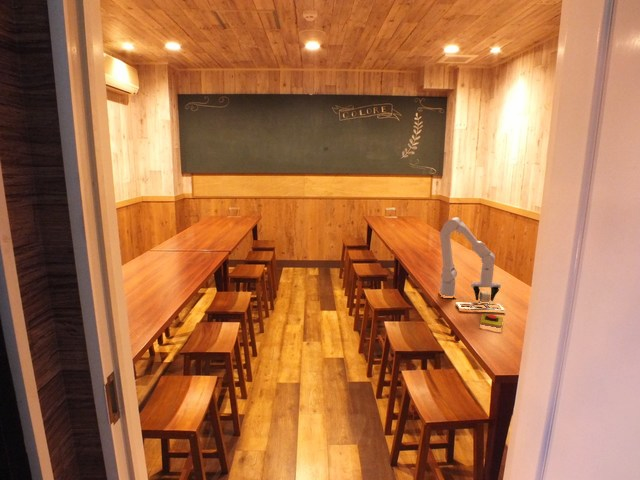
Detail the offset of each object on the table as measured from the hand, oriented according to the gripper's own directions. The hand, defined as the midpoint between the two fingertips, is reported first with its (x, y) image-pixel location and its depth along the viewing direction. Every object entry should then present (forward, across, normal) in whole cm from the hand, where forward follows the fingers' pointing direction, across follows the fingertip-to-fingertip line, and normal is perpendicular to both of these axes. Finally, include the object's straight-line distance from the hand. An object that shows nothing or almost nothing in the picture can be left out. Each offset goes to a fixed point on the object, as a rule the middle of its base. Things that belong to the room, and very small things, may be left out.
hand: (484, 300), depth 209 cm
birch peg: (+2, 0, 0) cm, 2 cm away
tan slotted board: (+2, -5, -9) cm, 10 cm away
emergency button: (+3, -6, -28) cm, 28 cm away
